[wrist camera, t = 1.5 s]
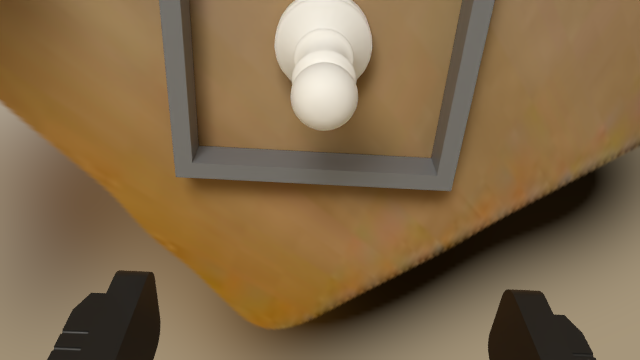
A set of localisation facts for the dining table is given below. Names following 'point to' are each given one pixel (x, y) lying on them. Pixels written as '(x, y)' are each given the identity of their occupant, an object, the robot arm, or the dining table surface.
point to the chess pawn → (323, 58)
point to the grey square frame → (319, 164)
